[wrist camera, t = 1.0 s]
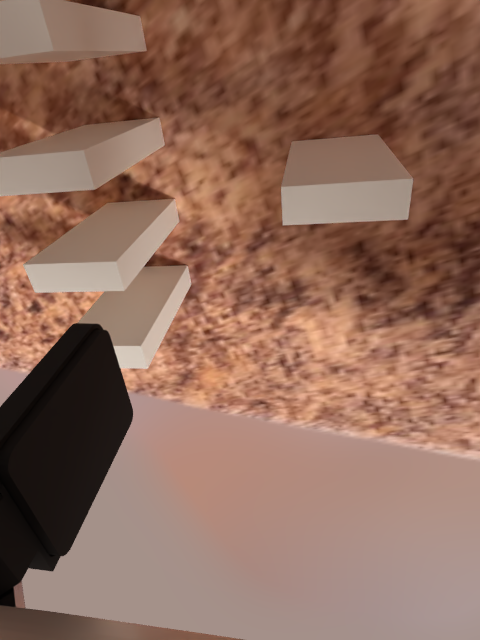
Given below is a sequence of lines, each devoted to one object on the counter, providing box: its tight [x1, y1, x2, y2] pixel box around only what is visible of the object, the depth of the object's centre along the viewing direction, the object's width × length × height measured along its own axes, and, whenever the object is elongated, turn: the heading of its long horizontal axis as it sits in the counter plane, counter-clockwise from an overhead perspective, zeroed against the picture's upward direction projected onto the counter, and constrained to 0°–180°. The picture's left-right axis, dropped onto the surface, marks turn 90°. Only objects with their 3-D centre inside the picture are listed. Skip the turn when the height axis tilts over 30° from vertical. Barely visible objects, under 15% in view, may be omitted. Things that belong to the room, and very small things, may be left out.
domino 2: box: [0, 117, 165, 196], centre depth 21 cm, size 2×5×10 cm, turn 96°
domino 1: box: [0, 0, 147, 64], centre depth 19 cm, size 2×5×10 cm, turn 96°
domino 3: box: [23, 199, 179, 293], centre depth 24 cm, size 2×5×10 cm, turn 96°
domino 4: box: [78, 265, 191, 369], centre depth 27 cm, size 2×5×10 cm, turn 96°
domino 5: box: [281, 134, 413, 225], centre depth 20 cm, size 2×5×10 cm, turn 96°
